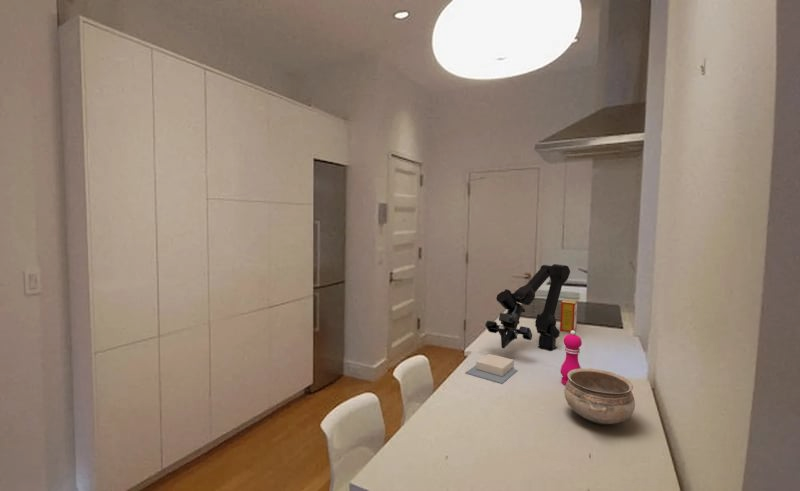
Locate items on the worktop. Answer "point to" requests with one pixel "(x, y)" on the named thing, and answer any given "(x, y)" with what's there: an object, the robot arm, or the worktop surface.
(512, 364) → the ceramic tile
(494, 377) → the slate mat
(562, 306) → the baking soda box
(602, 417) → the cooking pot
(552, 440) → the worktop surface
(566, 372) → the pepper mill
